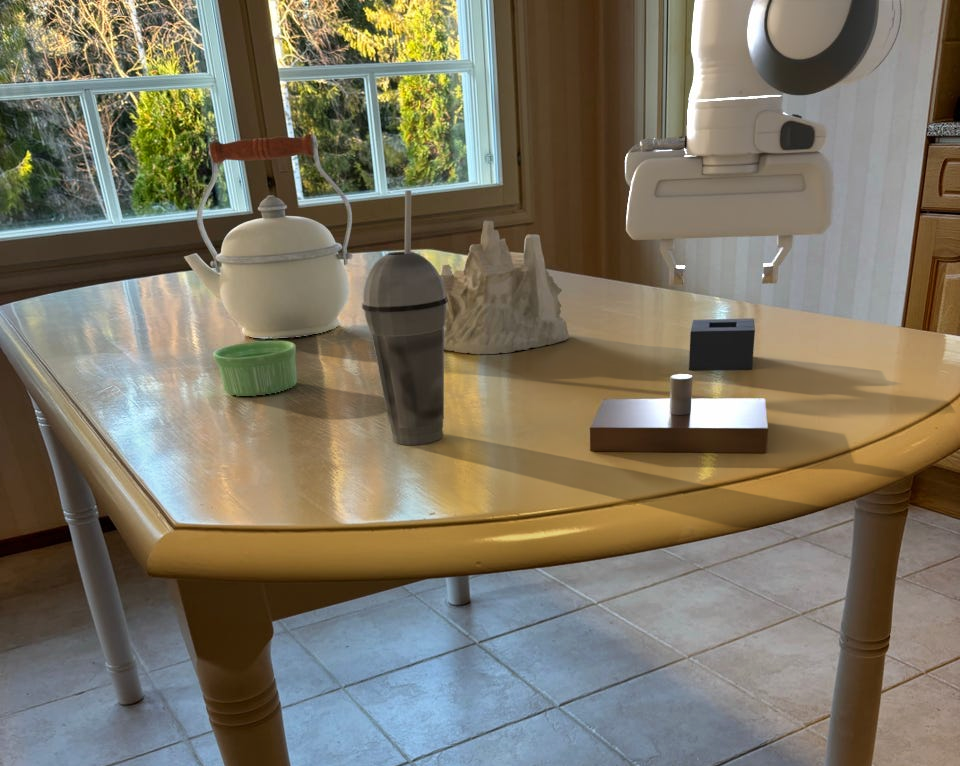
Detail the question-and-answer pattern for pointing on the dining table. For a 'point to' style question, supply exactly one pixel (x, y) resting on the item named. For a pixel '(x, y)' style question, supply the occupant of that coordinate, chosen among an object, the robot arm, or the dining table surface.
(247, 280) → the kettle
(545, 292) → the white castle figurine
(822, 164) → the robot arm
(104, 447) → the dining table surface
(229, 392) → the ramekin
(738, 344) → the dark grey holed block
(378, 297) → the beverage cup
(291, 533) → the dining table surface
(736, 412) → the wooden peg base
